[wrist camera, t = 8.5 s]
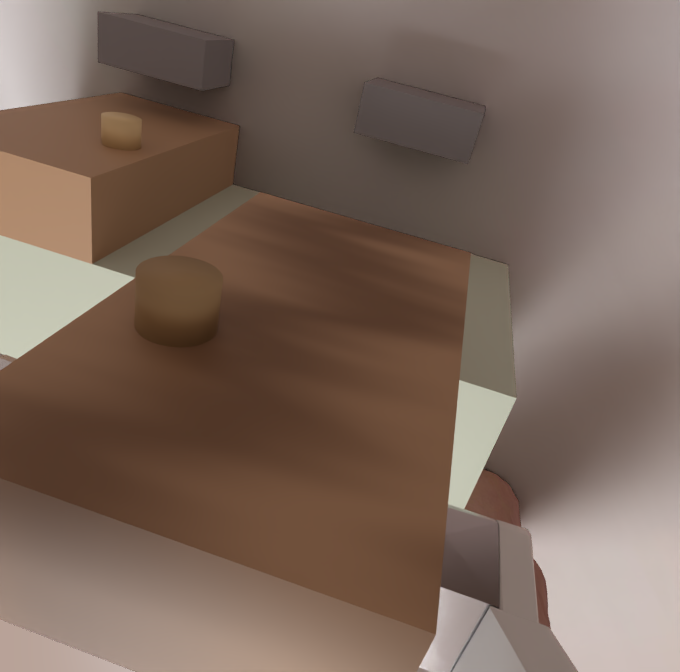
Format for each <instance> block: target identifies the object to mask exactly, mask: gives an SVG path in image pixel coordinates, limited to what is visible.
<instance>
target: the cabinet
mask: <svg viewBox="0 0 680 672" xmlns="http://www.w3.org/2000/svg"><path fill="white" fill-rule="evenodd" d="M233 45H234V40H232V39H229V38H225V37H221V36H217V35H213V34H210V33H206V32H202V31H198V30H195V29H191V28H187V27H183V26H179V25H176V24H172V23H168V22H164V21H160V20H157V19H153V18H149V17H145V16H141V15H138V14H127V13H111V12H98V62H99V63H103V64H106V65H110V66H114V67H117V68H121V69H124V70H128V71H132V72H135V73H139V74H143V75H146V76H150V77H154V78H157V79H161V80H164V81H168V82H172V83H175V84H179V85H183V86H186V87H190V88H194V89H197V90H201V91H203V90H208V89H214V88H219V87H224V86H229V84H230V74H231V65H232V55H233ZM484 114H485V106H483V105H479V104H475V103H471V102H468V101H464V100H460V99H456V98H452V97H449V96H445V95H441V94H437V93H433V92H430V91H426V90H422V89H418V88H415V87H411V86H407V85H403V84H399V83H396V82H392V81H388V80H384V79H380V78H376V79H373V80H370V81H367V82H365V83H364V88H363V92H362V97H361V102H360V106H359V111H358V115H357V120H356V125H355V129H354V133H357V134H361V135H364V136H368V137H372V138H375V139H379V140H382V141H386V142H390V143H393V144H397V145H401V146H404V147H408V148H412V149H415V150H419V151H422V152H426V153H430V154H433V155H437V156H441V157H444V158H448V159H451V160H455V161H459V162H462V163H466V164H468V163H469V160H470V157H471V154H472V151H473V148H474V145H475V142H476V139H477V136H478V132H479V129H480V126H481V123H482V120H483V117H484ZM239 127H240V126H239V125H235V124H232V123H228V122H224V121H221V120H217V119H214V118H210V117H207V116H203V115H199V114H196V113H192V112H189V111H185V110H182V109H178V108H174V107H171V106H167V105H164V104H160V103H157V102H153V101H149V100H146V99H142V98H139V97H135V96H132V95H128V94H124V93H114V94H107V95H101V96H94V97H87V98H81V99H74V100H67V101H60V102H54V103H47V104H40V105H34V106H27V107H20V108H13V109H7V110H0V353H1V354H3V355H8V356H11V357H14V358H16V359H18V358H19V357H21V356H22V355H24V354H25V353H26V352H28V351H29V350H31V349H32V348H34V347H35V346H37V345H38V344H40V343H41V342H43V341H44V340H45V339H47V338H48V337H50V336H51V335H53V334H54V333H56V332H57V331H59V330H60V329H61V328H63V327H64V326H66V325H67V324H69V323H70V322H72V321H73V320H75V319H76V318H78V317H79V316H80V315H82V314H83V313H85V312H86V311H88V310H89V309H91V308H92V307H94V306H95V305H96V304H98V303H99V302H101V301H102V300H104V299H105V298H107V297H108V296H110V295H111V294H113V293H114V292H115V291H117V290H118V289H120V288H121V287H123V286H124V285H126V284H127V283H129V282H130V281H131V280H133V279H134V278H135V275H136V268H137V266H138V265H139V264H140V263H141V262H143V261H145V260H147V259H150V258H153V257H158V256H168V255H169V254H171V253H172V252H174V251H175V250H177V249H178V248H180V247H181V246H183V245H184V244H185V243H187V242H188V241H190V240H191V239H193V238H194V237H196V236H197V235H199V234H200V233H201V232H203V231H204V230H206V229H207V228H209V227H210V226H212V225H213V224H215V223H216V222H218V221H219V220H220V219H222V218H223V217H225V216H226V215H228V214H229V213H231V212H232V211H234V210H235V209H236V208H238V207H239V206H241V205H242V204H244V203H245V202H247V201H248V200H250V199H251V198H253V197H254V196H255V195H257V194H258V193H260V192H257V191H253V190H250V189H247V188H243V187H240V186H236V185H233V178H234V170H235V161H236V152H237V144H238V135H239ZM516 398H517V396H516V381H515V365H514V350H513V334H512V318H511V303H510V287H509V272H508V265H507V264H504V263H500V262H497V261H493V260H490V259H487V258H483V257H480V256H476V255H473V254H471V258H470V269H469V280H468V291H467V302H466V313H465V324H464V335H463V346H462V357H461V368H460V379H459V390H458V400H457V411H456V422H455V433H454V444H453V455H452V466H451V477H450V488H449V499H448V504H450V505H453V506H456V507H459V508H462V509H464V508H465V506H466V504H467V502H468V500H469V498H470V496H471V494H472V491H473V489H474V487H475V485H476V483H477V481H478V479H479V477H480V475H481V472H482V470H483V468H484V466H485V464H486V462H487V460H488V458H489V456H490V453H491V451H492V449H493V447H494V445H495V443H496V441H497V439H498V437H499V434H500V432H501V430H502V428H503V426H504V424H505V422H506V420H507V417H508V415H509V413H510V411H511V409H512V407H513V405H514V403H515V401H516Z"/></svg>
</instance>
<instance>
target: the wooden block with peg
mask: <svg viewBox="0 0 680 672" xmlns="http://www.w3.org/2000/svg"><path fill="white" fill-rule="evenodd" d="M470 258H471V253H470V252H467V251H463V250H460V249H456V248H453V247H449V246H446V245H442V244H439V243H435V242H432V241H428V240H425V239H421V238H418V237H415V236H411V235H408V234H404V233H401V232H397V231H394V230H390V229H387V228H383V227H380V226H376V225H373V224H369V223H366V222H362V221H359V220H356V219H352V218H349V217H345V216H342V215H338V214H335V213H331V212H328V211H324V210H321V209H317V208H314V207H310V206H307V205H304V204H300V203H297V202H293V201H290V200H286V199H283V198H279V197H276V196H272V195H269V194H265V193H262V192H260V193H258V194H257V195H255V196H254V197H253V198H251V199H250V200H248V201H247V202H245V203H244V204H242V205H241V206H239V207H238V208H236V209H235V210H234V211H232V212H231V213H229V214H228V215H226V216H225V217H223V218H222V219H220V220H219V221H218V222H216V223H215V224H213V225H212V226H210V227H209V228H207V229H206V230H204V231H203V232H201V233H200V234H199V235H197V236H196V237H194V238H193V239H191V240H190V241H188V242H187V243H185V244H184V245H183V246H181V247H180V248H178V249H177V250H175V251H174V252H172V253H171V254H169V255H168V256H158V257H153V258H150V259H147V260H145V261H143V262H141V263H140V264H139V265H138V266H137V268H136V275H135V278H134V279H133V280H131V281H130V282H129V283H127V284H126V285H124V286H123V287H121V288H120V289H118V290H117V291H115V292H114V293H113V294H111V295H110V296H108V297H107V298H105V299H104V300H102V301H101V302H99V303H98V304H96V305H95V306H94V307H92V308H91V309H89V310H88V311H86V312H85V313H83V314H82V315H80V316H79V317H78V318H76V319H75V320H73V321H72V322H70V323H69V324H67V325H66V326H64V327H63V328H61V329H60V330H59V331H57V332H56V333H54V334H53V335H51V336H50V337H48V338H47V339H45V340H44V341H43V342H41V343H40V344H38V345H37V346H35V347H34V348H32V349H31V350H29V351H28V352H26V353H25V354H24V355H22V356H21V357H19V358H18V359H16V360H15V361H13V362H12V363H10V364H9V365H8V366H6V367H5V368H3V369H2V370H0V620H3V621H5V622H8V623H10V624H13V625H16V626H18V627H21V628H23V629H26V630H29V631H31V632H34V633H36V634H39V635H42V636H44V637H47V638H49V639H52V640H54V641H57V642H60V643H62V644H65V645H67V646H70V647H73V648H75V649H78V650H80V651H83V652H85V653H88V654H91V655H93V656H96V657H98V658H101V659H104V660H107V661H109V662H111V663H114V664H117V665H119V666H122V667H124V668H127V669H130V670H132V671H135V672H417V670H418V668H419V666H420V664H421V663H422V661H423V659H424V657H425V655H426V653H427V651H428V649H429V647H430V645H431V643H432V641H433V640H434V638H435V636H436V630H437V619H438V608H439V597H440V587H441V576H442V565H443V554H444V543H445V532H446V521H447V510H448V499H449V488H450V477H451V466H452V455H453V444H454V433H455V422H456V411H457V400H458V390H459V379H460V368H461V357H462V346H463V335H464V324H465V313H466V302H467V291H468V280H469V269H470Z"/></svg>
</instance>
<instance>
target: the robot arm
mask: <svg viewBox="0 0 680 672" xmlns="http://www.w3.org/2000/svg"><path fill="white" fill-rule="evenodd" d="M15 360H16V358H14V357H11V356H8V355H3V354H1V353H0V370H2V369H3V368H5V367H6V366H8V365H9V364H10V363H12V362H13V361H15ZM419 667H420V668H423V669H425V670H428V671H430V672H578V671H577V669H576V668H575V666H574V665H573V663H572V662H571V660H570V658H569V657H568V655H567V654H566V652H565V651H564V649H563V648H562V646H561V645H560V643H559V642H558V640H557V639H556V637H555V635H554V634H553V632H552V631H551V629H550V628H549V627H547V626H545V625H542V624H540V623H539V619H538V607H537V596H536V584H535V573H534V561H533V550H532V538H531V534H530V532H529V531H528V529H525V528H522V527H519V526H516V525H512V524H509V523H506V522H503V521H500V520H495V519H493V518H490V517H487V516H484V515H481V514H478V513H474V512H471V511H468V510H465V509H462V508H459V507H456V506H453V505H450V504H448V510H447V521H446V532H445V543H444V554H443V565H442V576H441V587H440V597H439V608H438V619H437V630H436V636H435V638H434V640H433V641H432V643H431V645H430V647H429V649H428V651H427V653H426V655H425V657H424V659H423V661H422V663H421V664H420V666H419Z"/></svg>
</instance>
